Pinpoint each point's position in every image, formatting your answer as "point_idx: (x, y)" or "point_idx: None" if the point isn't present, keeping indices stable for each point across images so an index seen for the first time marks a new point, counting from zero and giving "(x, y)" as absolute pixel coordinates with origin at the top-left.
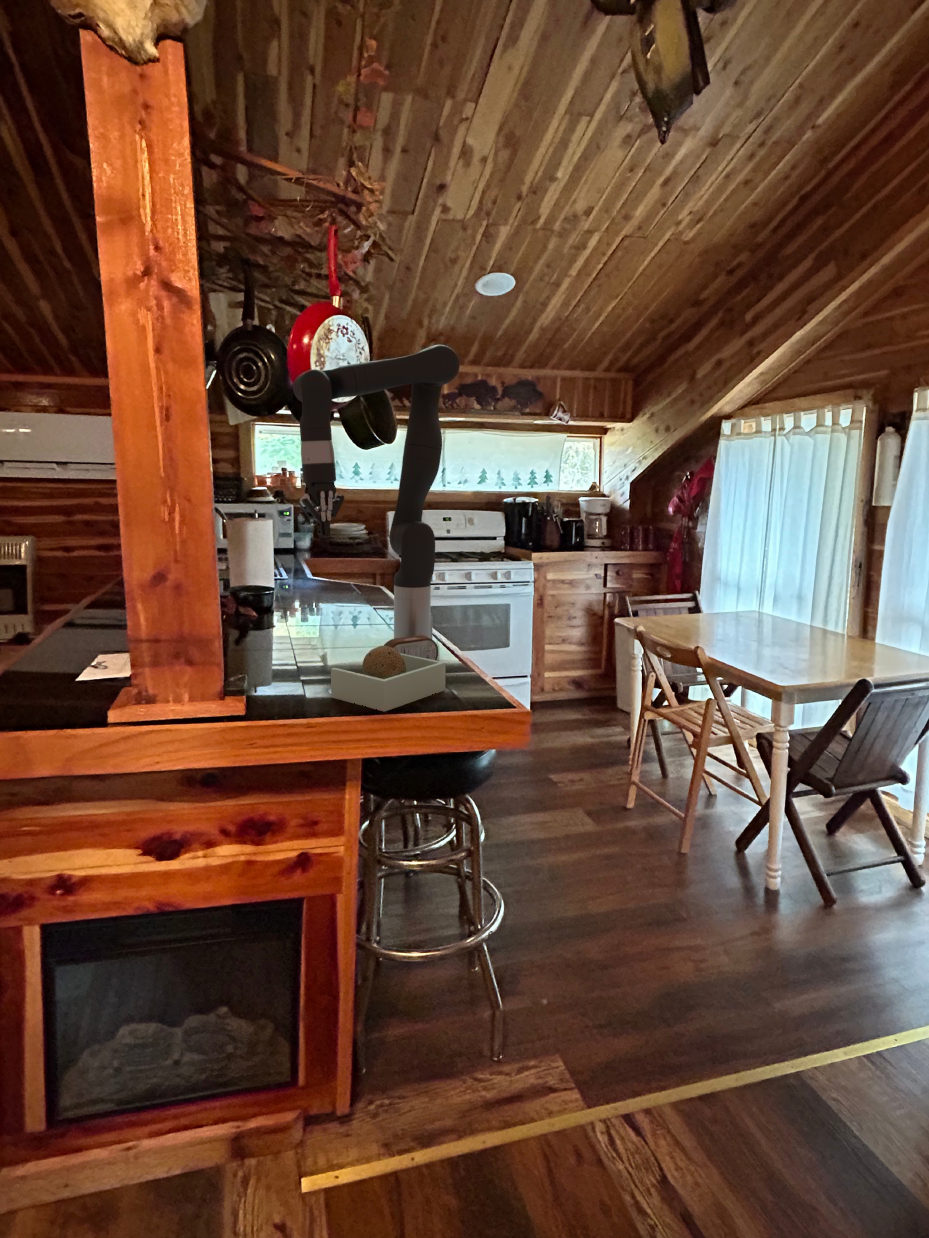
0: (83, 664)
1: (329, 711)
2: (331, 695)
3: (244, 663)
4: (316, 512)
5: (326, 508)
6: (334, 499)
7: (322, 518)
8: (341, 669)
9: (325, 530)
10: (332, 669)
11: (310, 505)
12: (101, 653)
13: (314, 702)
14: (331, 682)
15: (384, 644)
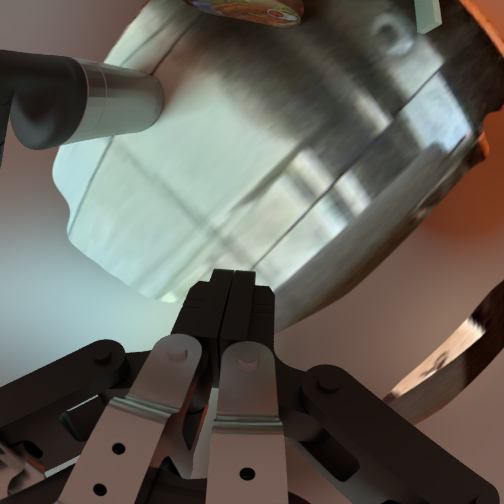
0: (436, 376)
1: (456, 14)
2: (424, 33)
3: (367, 260)
4: (343, 420)
5: (171, 440)
6: (25, 468)
7: (263, 364)
8: (434, 8)
9: (244, 293)
10: (441, 21)
11: (429, 479)
12: (395, 398)
13: (449, 43)
14: (432, 28)
15: (289, 7)
